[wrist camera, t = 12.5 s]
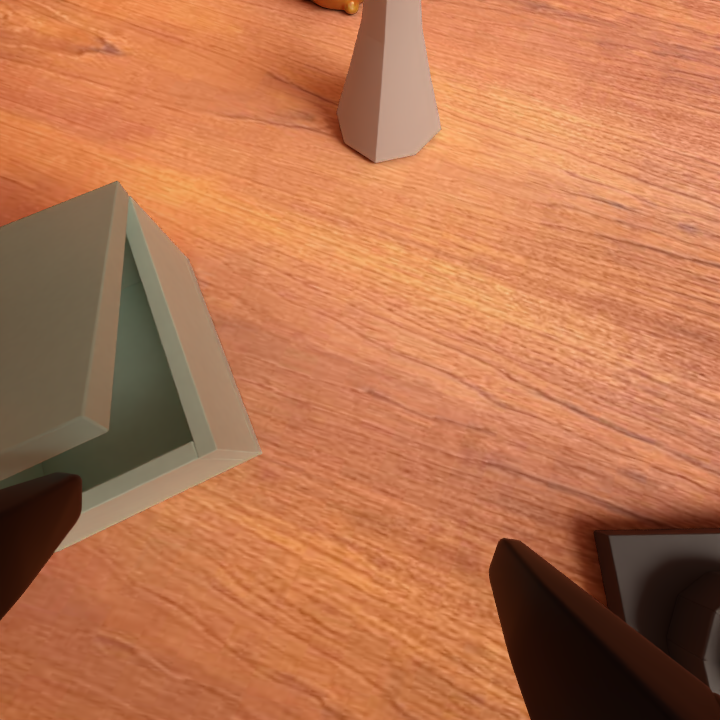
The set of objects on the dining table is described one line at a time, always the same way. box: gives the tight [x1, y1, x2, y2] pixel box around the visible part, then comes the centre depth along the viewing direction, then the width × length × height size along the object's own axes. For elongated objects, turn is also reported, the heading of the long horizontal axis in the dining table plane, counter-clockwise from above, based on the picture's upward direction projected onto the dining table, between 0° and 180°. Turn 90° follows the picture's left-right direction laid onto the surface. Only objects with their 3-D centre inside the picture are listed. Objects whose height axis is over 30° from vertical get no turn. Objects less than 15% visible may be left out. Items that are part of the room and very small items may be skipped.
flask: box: [337, 0, 441, 163], centre depth 21 cm, size 7×7×10 cm
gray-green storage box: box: [0, 196, 262, 553], centre depth 18 cm, size 14×12×6 cm
